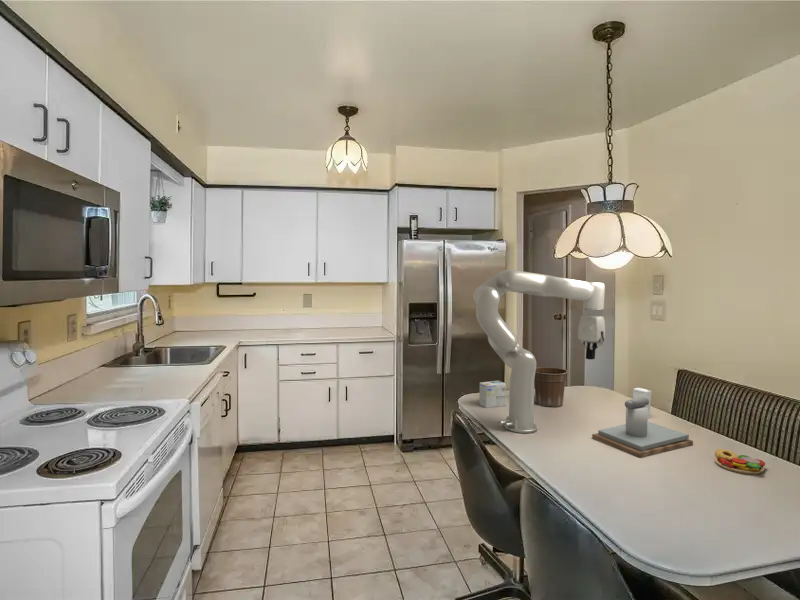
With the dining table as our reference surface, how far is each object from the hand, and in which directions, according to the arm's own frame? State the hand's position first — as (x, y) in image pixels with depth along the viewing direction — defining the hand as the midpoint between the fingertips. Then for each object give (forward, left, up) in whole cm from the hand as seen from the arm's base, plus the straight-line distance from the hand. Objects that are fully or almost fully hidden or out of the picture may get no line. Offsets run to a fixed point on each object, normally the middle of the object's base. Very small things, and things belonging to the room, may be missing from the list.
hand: (590, 358), depth 183 cm
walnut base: (+5, -20, -28) cm, 35 cm away
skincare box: (+31, 0, -28) cm, 42 cm away
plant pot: (+9, +32, -28) cm, 44 cm away
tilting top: (+6, -20, -26) cm, 33 cm away
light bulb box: (-17, +41, -28) cm, 52 cm away
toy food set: (+14, -48, -28) cm, 57 cm away
